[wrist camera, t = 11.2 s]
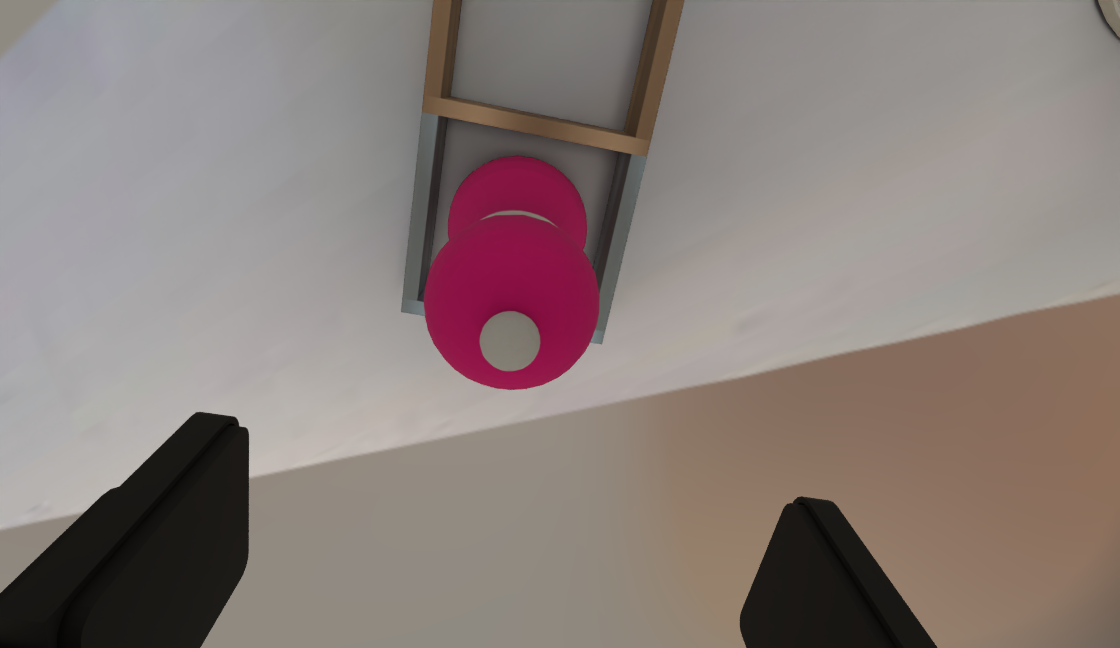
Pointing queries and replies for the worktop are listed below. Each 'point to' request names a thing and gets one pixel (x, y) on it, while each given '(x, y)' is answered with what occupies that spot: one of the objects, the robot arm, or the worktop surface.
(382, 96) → the worktop surface
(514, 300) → the pepper mill
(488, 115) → the organizer
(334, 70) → the worktop surface
